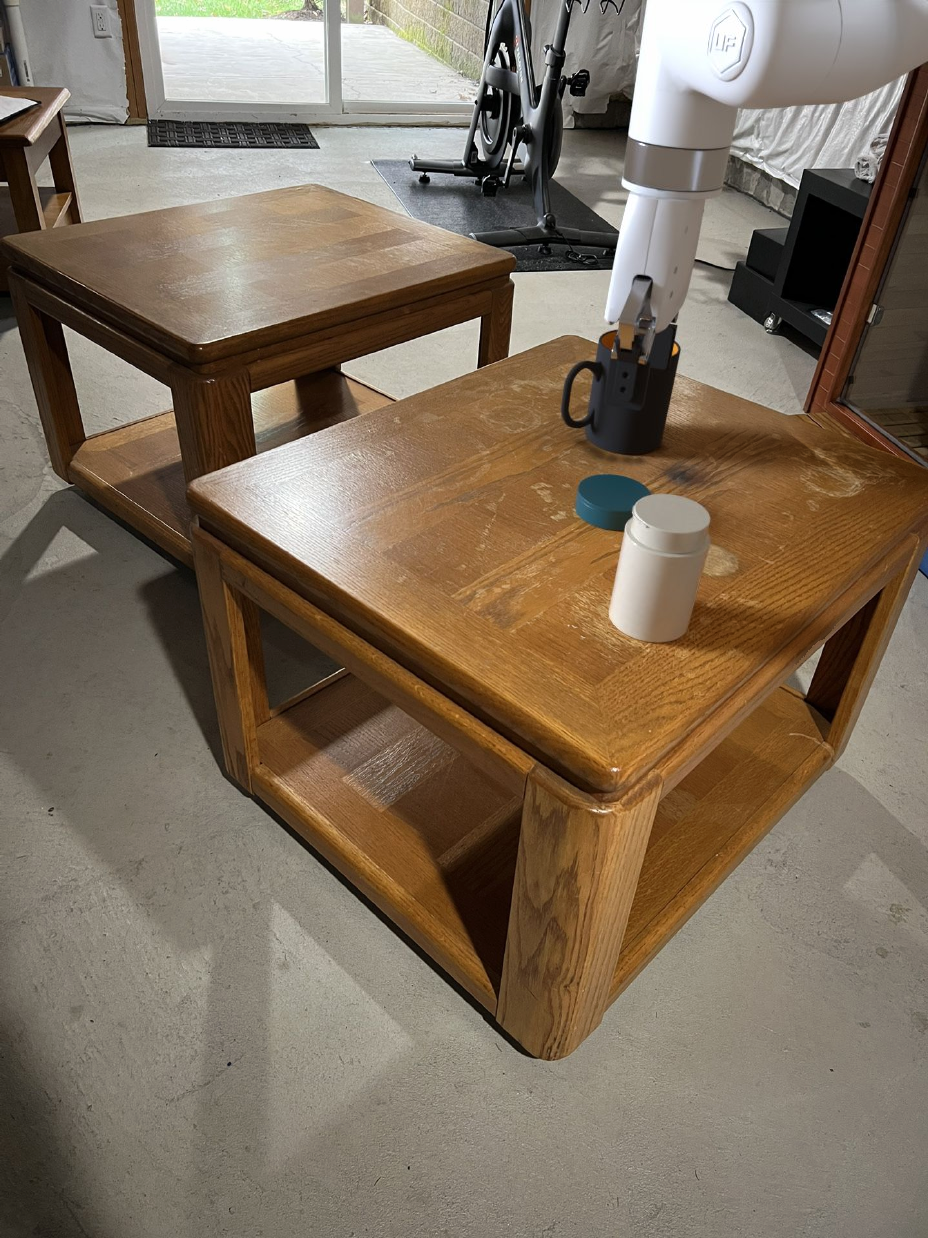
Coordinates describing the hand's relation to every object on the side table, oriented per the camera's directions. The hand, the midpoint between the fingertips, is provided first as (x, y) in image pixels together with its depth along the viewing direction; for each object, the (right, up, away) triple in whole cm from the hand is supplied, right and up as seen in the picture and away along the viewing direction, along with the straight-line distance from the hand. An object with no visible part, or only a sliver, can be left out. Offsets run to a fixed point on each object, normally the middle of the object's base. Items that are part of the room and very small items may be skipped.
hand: (637, 385), depth 80 cm
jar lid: (-1, -9, +7) cm, 11 cm away
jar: (0, -20, -5) cm, 20 cm away
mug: (0, -1, +20) cm, 20 cm away
